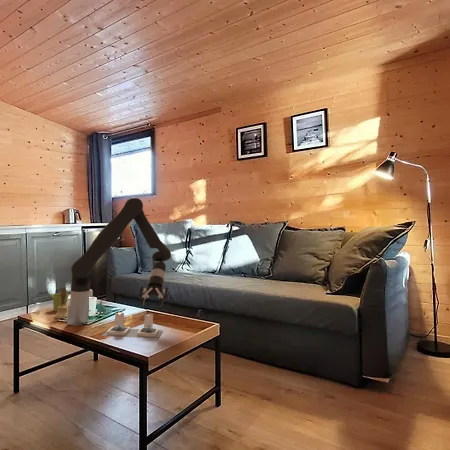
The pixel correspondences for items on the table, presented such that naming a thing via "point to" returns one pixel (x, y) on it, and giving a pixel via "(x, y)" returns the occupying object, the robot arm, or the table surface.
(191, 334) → the table surface
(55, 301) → the plant pot
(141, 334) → the pallet board
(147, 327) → the block
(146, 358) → the table surface
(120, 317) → the block
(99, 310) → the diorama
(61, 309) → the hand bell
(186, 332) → the table surface
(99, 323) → the table surface
